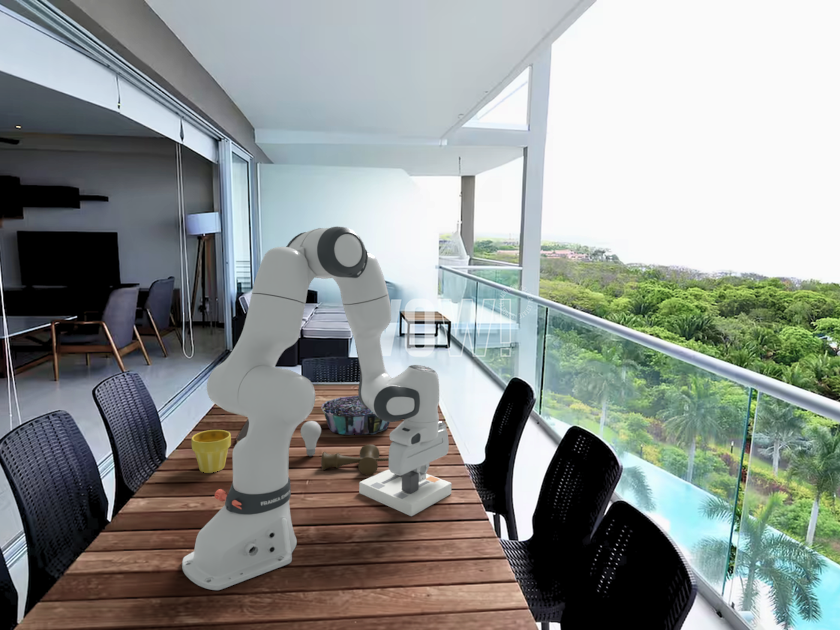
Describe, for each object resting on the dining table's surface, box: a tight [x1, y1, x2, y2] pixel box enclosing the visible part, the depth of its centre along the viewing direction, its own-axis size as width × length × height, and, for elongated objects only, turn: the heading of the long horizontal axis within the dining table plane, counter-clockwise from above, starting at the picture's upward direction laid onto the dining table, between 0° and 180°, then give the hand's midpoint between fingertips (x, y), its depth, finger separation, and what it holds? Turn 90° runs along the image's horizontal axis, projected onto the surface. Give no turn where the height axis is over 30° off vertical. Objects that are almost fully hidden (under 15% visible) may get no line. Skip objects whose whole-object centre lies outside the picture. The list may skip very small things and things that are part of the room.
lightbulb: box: [300, 420, 322, 457], centre depth 157 cm, size 6×6×11 cm
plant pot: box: [191, 429, 232, 474], centre depth 147 cm, size 10×10×10 cm
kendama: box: [320, 443, 389, 476], centre depth 149 cm, size 6×10×20 cm
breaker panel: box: [358, 468, 452, 517], centre depth 134 cm, size 16×18×3 cm
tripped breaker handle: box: [402, 471, 419, 494], centre depth 129 cm, size 3×3×4 cm
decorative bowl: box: [320, 395, 391, 436], centre depth 186 cm, size 26×28×10 cm
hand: (419, 480), depth 132 cm, fingers closed
